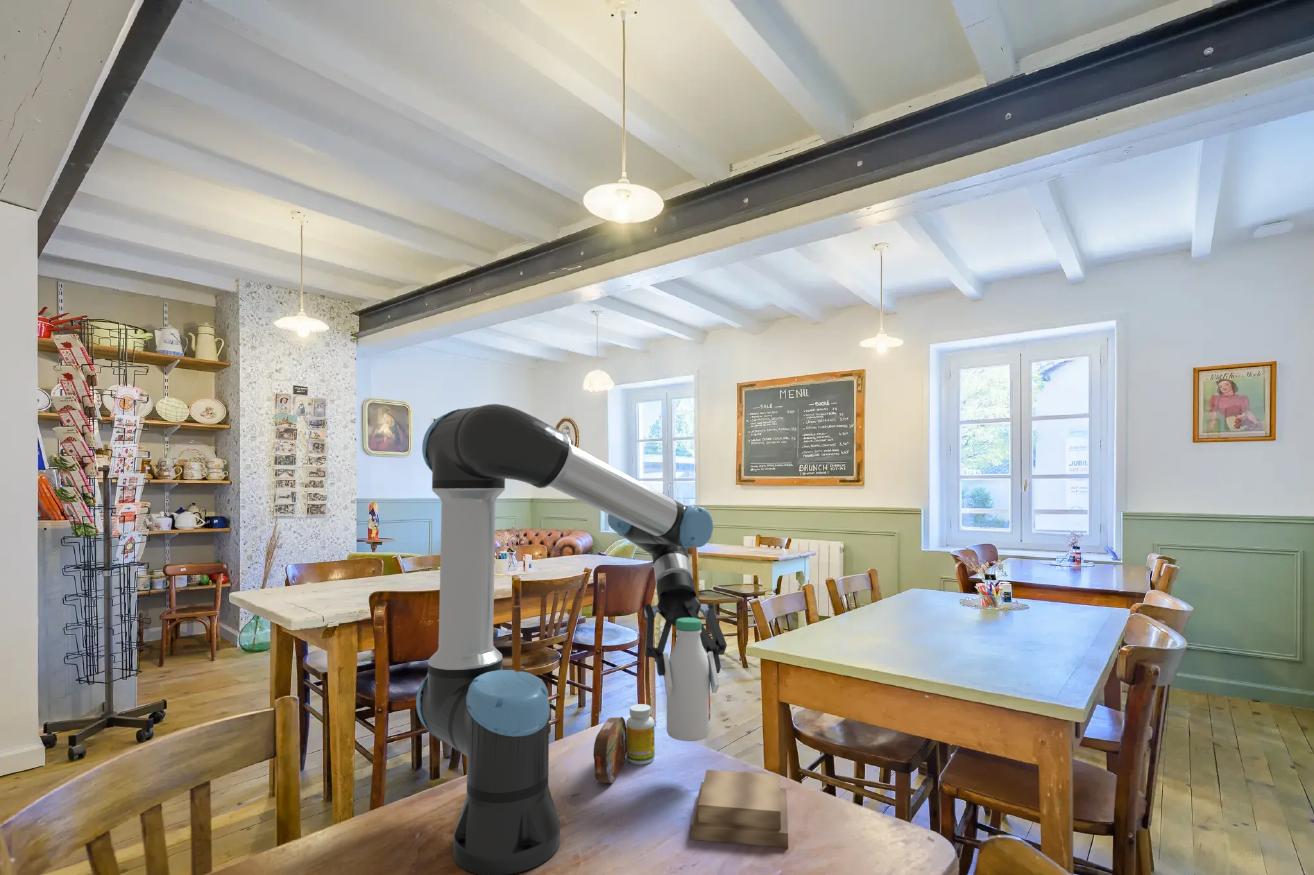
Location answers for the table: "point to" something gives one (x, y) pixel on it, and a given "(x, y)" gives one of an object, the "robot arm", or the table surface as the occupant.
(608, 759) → the tin
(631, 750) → the supplement bottle
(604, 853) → the table surface
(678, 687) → the milk bottle
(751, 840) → the plinth
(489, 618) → the robot arm
